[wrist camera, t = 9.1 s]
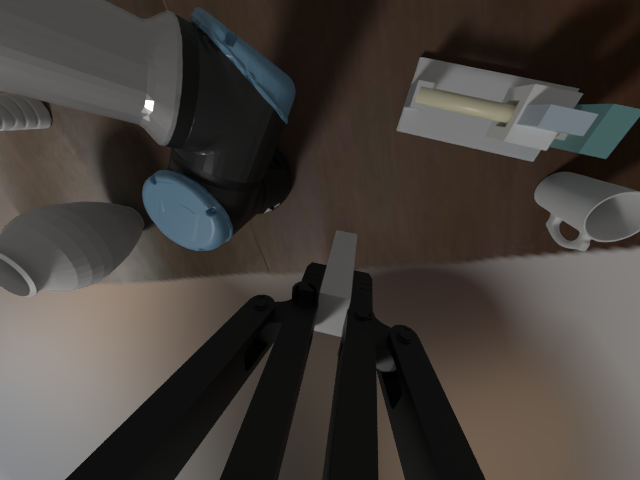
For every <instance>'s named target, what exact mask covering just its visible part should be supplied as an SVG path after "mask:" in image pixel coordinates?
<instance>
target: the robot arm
mask: <svg viewBox="0 0 640 480" xmlns="http://www.w3.org/2000/svg"><path fill="white" fill-rule="evenodd" d="M190 20H191V22H189V21H187V20H185V19H183V18H181V17H180V16H178V15H176V14H174V13H172V12H170V11H164V12H162V13H160V14H157V15H155V16H153V17H150V18H148V19H143V18H139V17H137V16H135V15H133V14H131V13H129V12H127V11H125V10H123V9H121V8H119V7H117V6H115V5H113V4H111V3H109V2H107V1H105V0H0V91H4V92H8V93H13V94H17V95H21V96H25V97H29V98H33V99H37V100H41V101H45V102H49V103H53V104H57V105H61V106H66V107H70V108H74V109H78V110H82V111H86V112H90V113H94V114H98V115H102V116H106V117H110V118H115V119H119V120H123V121H127V122H131V123H135V124H138V125H140V126H141V127H143V128H144V129H145V130H146V131H147V132H148V134H149V135H150V136H151V137H152V138H153V139H154V140H155V141H156V143H157V144H159V145H162V146H166V147H171V153H170V158H169V164H168V168H167V169H166V170H160V171H157V172H155V173H154V174H153V175H152V176H150V177H149V178H148V179H147V180H146V181H145V183H144V185H143V190H142V196H143V202H144V205H145V208H146V211H147V213H148V214H149V216H150V218H151V219H152V221H153V222H154V223H155V224H156V225H157V227H158V228H159V229H160V230H161V231H162V232H163V233H164V234H165V235H166V236H167V237H168V238H170V239H171V240H173V241H174V242H176V243H177V244H179V245H181V246H183V247H186V248H188V249H192V250H196V251H204V250H213V249H215V248H217V247H219V246H220V245H221V244H223V243H225V242H227V241H229V240H230V238H231V237H232V236H233V235H234V234H235V233H236V232H237V231H238V230H239V229H241V228H242V227H243V226H244V225H245V224H246V223H247V222H248V221H250V220H251V219H252V218H253V217H254V216H255V215H256V214H262V213H267V212H270V211H272V210H274V209H276V208H277V207H278V206H280V205H281V204H282V203H283V202H284V200H285V199H286V198H287V196H288V194H289V191H290V188H291V172H290V168H289V165H288V163H287V161H286V159H285V157H284V156H283V154H282V153H281V152H280V151H279V150H278V149H277V148H276V145H277V143H278V141H279V138H280V136H281V133H282V131H283V128H284V126H285V124H287V123H288V116H289V113H290V110H291V107H292V104H293V102H294V99H295V92H296V91H295V86H294V83H293V81H292V79H291V78H290V77H289V76H288V75H287V74H286V73H284V72H283V71H282V70H281V69H279V68H278V67H277V66H276V65H274V64H273V63H272V62H271V61H269V60H268V59H267V58H265V57H264V56H263V55H262V54H260V53H259V52H258V51H256V50H255V49H254V48H253V47H251V46H250V45H249V44H247V43H246V42H245V41H243V40H242V39H241V38H239V37H238V36H237V35H236V34H235V33H233V32H232V31H230V30H229V29H228V28H227V27H225V26H224V25H223V24H222V23H220V22H219V21H218V20H217V19H215V18H214V17H213V16H211V15H210V14H209V13H207V12H206V11H205V10H204V9H202V8H200V7H196V8H195V10H194V12H193V13H191V16H190ZM356 242H357V234H353V233H348V232H343V231H337V230H336V234H335V237H334V241H333V245H332V249H331V252H330V256H329V260H328V263H327V265H323V264H318V263H313V262H312V263H311V264H310V265H308V266H307V268H306V271H305V273H304V276H303V278H302V281H301V282H298V283H297V284H295V285H294V286H293V290H292V299H291V300H288V301H284V302H275V301H274V300H273V299H272V298H271V297H270V296H267V295H257V296H254V297H252V298H251V299H250V300H249V301H248V302H247V303H246V304H245V305H244V306H242V307H241V308H240V309H239V310H238V311H237V312H236V314H234V315H233V316H232V317H231V318H230V319H229V320H228V321H227V322H226V323H225V324H224V325H223V326H222V327H221V328H220V329H219V330H218V331H217V332H216V333H215V334H214V335H213V336H212V337H211V338H210V339H209V340H208V341H207V342H206V343H205V344H204V345H203V346H202V347H200V348H199V349H198V350H197V351H196V352H195V353H194V354H193V355H192V356H191V357H190V358H189V359H188V360H187V361H186V362H185V363H184V364H183V365H182V366H181V367H180V368H179V369H178V370H177V371H176V372H175V373H174V374H173V375H172V376H171V377H170V378H169V379H168V380H167V381H166V382H165V383H164V384H163V385H162V386H161V387H160V388H159V389H157V391H155V393H153V394H152V395H151V396H150V397H149V398H148V399H147V400H146V401H145V402H144V403H143V404H142V405H141V406H140V407H139V408H138V409H137V410H136V411H135V412H134V413H133V414H132V415H131V416H130V417H129V418H128V419H127V420H126V421H125V422H124V423H123V424H122V425H121V426H120V427H119V428H118V429H117V430H115V432H113V433H112V434H111V435H110V436H109V438H107V439H106V440H105V441H104V442H103V443H102V444H101V445H100V446H99V447H98V448H97V449H96V450H95V451H94V452H93V453H92V454H91V455H90V456H89V457H88V458H87V459H86V460H85V461H84V462H83V463H82V464H81V465H80V466H79V467H78V468H77V469H76V470H75V471H74V472H72V474H70V475H69V477H67V478H66V479H65V480H174V479H175V478H176V476H177V475H178V474H179V472H180V471H181V470H182V468H183V467H184V466H185V464H186V463H187V461H188V460H189V459H190V457H191V456H192V454H193V453H194V452H195V450H196V449H197V448H198V446H199V445H200V444H201V442H202V441H203V439H204V438H205V437H206V435H207V434H208V432H209V431H210V430H211V428H212V427H213V426H214V424H215V423H216V421H217V420H218V419H219V417H220V416H221V415H222V413H223V412H224V410H225V409H226V408H227V406H228V405H229V404H230V402H231V401H232V399H233V398H234V397H235V395H236V394H237V393H238V391H239V390H240V388H241V387H242V386H243V384H244V383H245V381H246V380H247V379H248V377H249V376H250V375H251V373H252V372H253V370H254V369H255V368H256V366H257V365H258V363H259V362H260V361H261V359H262V358H263V357H264V355H265V354H266V353H267V351H268V350H269V348H270V347H271V346H272V344H273V343H274V345H273V348H272V350H271V353H270V355H269V358H268V360H267V363H266V365H265V368H264V370H263V373H262V375H261V378H260V380H259V383H258V385H257V388H256V390H255V393H254V395H253V398H252V400H251V403H250V405H249V408H248V410H247V413H246V415H245V418H244V420H243V423H242V425H241V428H240V430H239V433H238V435H237V438H236V440H235V443H234V445H233V448H232V451H231V453H230V456H229V458H228V460H227V463H226V466H225V468H224V470H223V473H222V475H221V478H220V480H278V477H279V473H280V469H281V465H282V461H283V457H284V452H285V448H286V444H287V440H288V436H289V432H290V428H291V424H292V420H293V416H294V412H295V408H296V403H297V399H298V395H299V391H300V387H301V383H302V379H303V375H304V370H305V366H306V362H307V358H308V354H309V350H310V346H311V342H312V337H313V332H314V331H318V332H322V333H327V334H331V335H335V336H340V337H341V336H342V338H341V343H340V347H339V350H338V354H337V355H338V362H337V371H336V378H335V385H334V394H333V401H332V408H331V416H330V423H329V432H328V439H327V446H326V455H325V462H324V469H323V477H322V480H378V435H377V388H376V387H377V384H376V370H377V374H378V378H379V382H380V385H381V389H382V393H383V397H384V400H385V405H386V408H387V412H388V416H389V420H390V424H391V428H392V431H393V435H394V439H395V443H396V447H397V450H398V454H399V458H400V462H401V466H402V470H403V473H404V477H405V480H485V478H484V475H483V473H482V471H481V469H480V467H479V465H478V463H477V460H476V458H475V456H474V454H473V452H472V450H471V448H470V446H469V443H468V441H467V439H466V437H465V435H464V433H463V431H462V429H461V426H460V424H459V422H458V420H457V418H456V416H455V414H454V412H453V410H452V408H451V405H450V403H449V401H448V399H447V397H446V395H445V392H444V390H443V388H442V386H441V384H440V382H439V380H438V378H437V375H436V373H435V371H434V369H433V367H432V365H431V363H430V361H429V358H428V356H427V354H426V353H425V350H424V348H423V346H422V344H421V341H420V339H419V338H418V336H417V334H416V333H415V332H414V331H413V330H412V329H411V328H409V327H407V326H404V325H395V326H393V327H392V328H391V327H389V326H386V325H384V324H383V323H381V322H380V321H379V320H378V319H376V317H375V316H374V313H373V309H372V278H371V277H370V275H369V273H364V272H359V271H354V262H355V252H356Z"/></svg>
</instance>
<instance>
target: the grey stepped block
mask: <svg viewBox="0 0 640 480" xmlns="http://www.w3.org/2000/svg"><path fill="white" fill-rule="evenodd" d="M583 94H584V93H579V92H574V91H569V90H564V89H559V88H554V87H549V86H544V85H539V84H531V85H525V86H519V87H512V88H509V90H508V92H507V94H506V96H505V98H504V100H503V101H502V103H505V104H510V105H515V106H516V108H515V110H514V112H513V114H512V116H511V118H510V119H509V121H508V123H503V122H498V121H494V120H493V121H492V123H491V125H490V127H489V129H488V131H487V133H486V135H485V137H489V138H493V139H497V140H500V141H504V142H509V143H513V144H518V145H522V146H527V147H531V148H536V149H540V150H545V151H547V149H548V147H549V146H550V144H551V143H552V141H553V140H554V138H555V137H556V135H557V134H558V133H562V134H570V135H577V136H584V134H585V133H586V132H587V130H588V129H589V127H590V126H591V124H592V123H593V122H594V120H595V119H596V117H597V116H598V115H599V114H595V113H590V112H586V111H581V110H576V109H574V107H575V106H576V104H577V103H578V101H579V100H580V98H581V97H582V95H583Z"/></svg>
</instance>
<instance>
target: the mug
mask: <svg viewBox="0 0 640 480" xmlns="http://www.w3.org/2000/svg"><path fill="white" fill-rule="evenodd" d="M534 197H535V201H536V202H537V203H538V204H539V205H540V206H542V207H543V208H545V209H546V210H547V211H549V212H550V213H551V215H550V218H549V220H548V221H547V223H546V226H547V228H548V230H549V232H550V234H551V236H552V237H553V239H554V240H555V241H556V242H557V243H558V244H559V245H561V246H563V247H566V248H571V249H579V250H581V251H586V250H587V248H588V247H589V245H590V240H591V239H593V240H596V241H600V242H612V241H618V240H622V239H625V238H628V237H630V236H632V235H634V234H636V233H638V232H639V231H640V192H638V191H635V190H632V189H629V188H625V187H622V186H618V185H615V184H611V183H608V182H604V181H601V180H597V179H594V178H591V177H587V176H584V175H579V174H576V173H572V172H557V173H554V174H552V175H550V176H548V177H546V178H545V179H543V180H542V181H541V182H540V183H539V185H538V186H537V188H536V190H535V193H534ZM562 220H563V221H565V222H566V223H568V224H569V225H571V226H572V227H574V228H575V229H577V230H579V232H580V234H579V236H578V238H577V239H576V240H574V241H568V240H566V239H564V238H563V236H562V235H561V234H560V231H559V225H560V223H561V221H562Z"/></svg>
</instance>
